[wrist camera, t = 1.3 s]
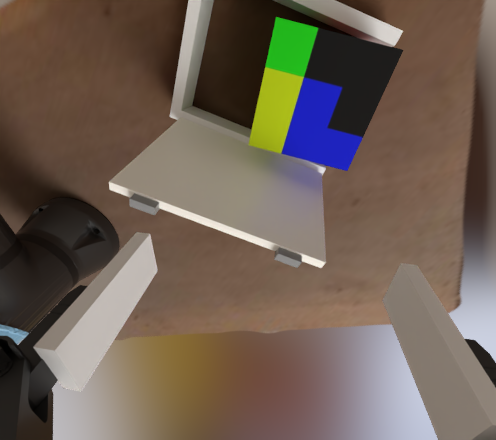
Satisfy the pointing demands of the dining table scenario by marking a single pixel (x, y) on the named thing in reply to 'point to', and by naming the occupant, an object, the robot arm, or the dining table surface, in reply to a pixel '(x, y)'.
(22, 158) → the dining table surface
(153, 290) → the dining table surface
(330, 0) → the white hinged box
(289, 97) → the puzzle toy
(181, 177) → the cover
